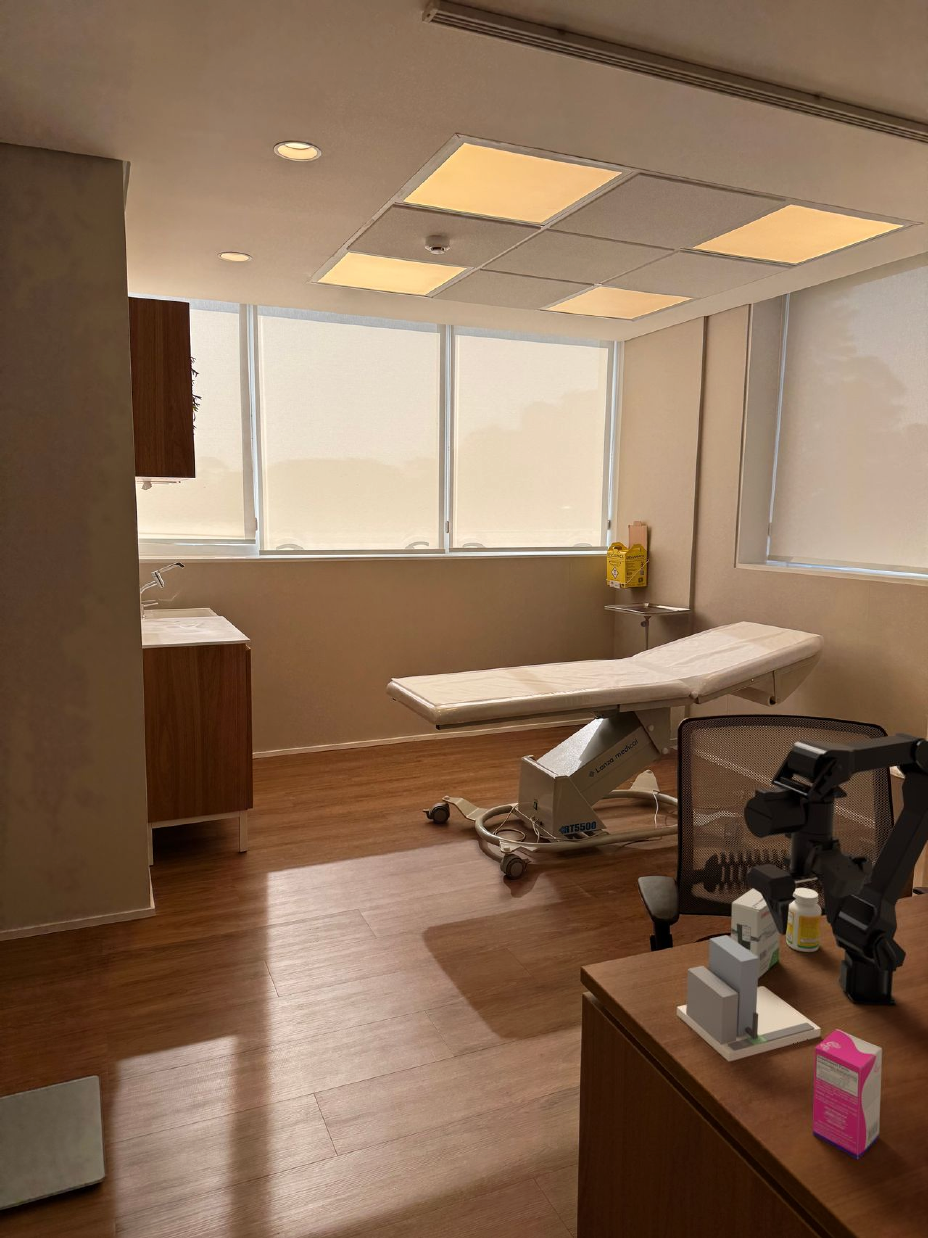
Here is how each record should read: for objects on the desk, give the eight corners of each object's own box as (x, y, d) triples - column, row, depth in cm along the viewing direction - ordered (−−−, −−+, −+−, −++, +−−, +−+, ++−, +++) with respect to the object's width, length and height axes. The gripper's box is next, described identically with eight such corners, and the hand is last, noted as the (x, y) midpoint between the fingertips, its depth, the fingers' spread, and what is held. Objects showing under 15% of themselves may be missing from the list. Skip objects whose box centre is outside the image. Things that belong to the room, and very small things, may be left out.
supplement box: (832, 1112, 108) (837, 1026, 107) (880, 1138, 104) (886, 1049, 102) (809, 1134, 104) (814, 1045, 103) (858, 1161, 100) (864, 1069, 98)
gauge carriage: (723, 1005, 129) (726, 935, 127) (764, 1038, 121) (768, 964, 119) (707, 1009, 128) (709, 938, 126) (747, 1043, 120) (750, 968, 118)
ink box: (752, 950, 148) (755, 884, 146) (780, 961, 145) (783, 893, 143) (727, 969, 142) (730, 901, 140) (756, 981, 138) (759, 910, 137)
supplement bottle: (780, 944, 150) (782, 891, 149) (796, 934, 154) (799, 883, 152) (809, 956, 146) (812, 902, 145) (825, 946, 149) (828, 893, 148)
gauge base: (762, 993, 135) (765, 943, 134) (820, 1036, 124) (823, 982, 123) (676, 1014, 129) (678, 962, 128) (728, 1061, 118) (731, 1005, 117)
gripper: (801, 857, 116) (796, 967, 118) (905, 838, 122) (898, 942, 124) (746, 829, 126) (742, 930, 128) (845, 813, 133) (839, 910, 135)
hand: (806, 928), depth 128 cm, fingers open, 9 cm apart
